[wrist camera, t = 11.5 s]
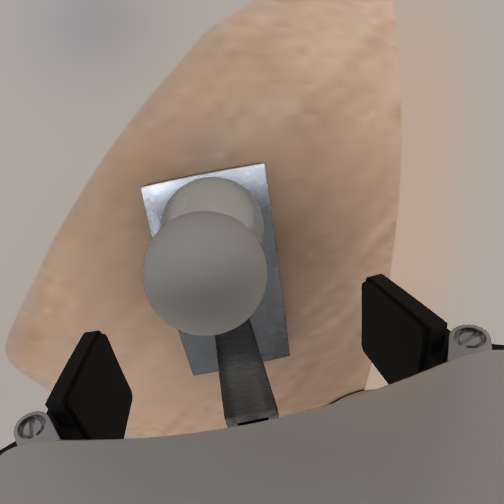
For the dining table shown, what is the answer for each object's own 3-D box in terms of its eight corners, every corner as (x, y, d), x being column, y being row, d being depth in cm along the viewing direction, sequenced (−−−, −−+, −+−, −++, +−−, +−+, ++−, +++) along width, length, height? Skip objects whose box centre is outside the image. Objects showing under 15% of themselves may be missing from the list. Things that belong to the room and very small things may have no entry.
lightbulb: (248, 187, 22) (284, 230, 12) (245, 267, 24) (273, 359, 14) (162, 187, 21) (123, 231, 11) (165, 268, 24) (140, 361, 13)
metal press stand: (285, 346, 29) (327, 441, 18) (193, 365, 29) (197, 469, 17) (260, 162, 24) (314, 176, 12) (144, 185, 23) (95, 220, 12)
